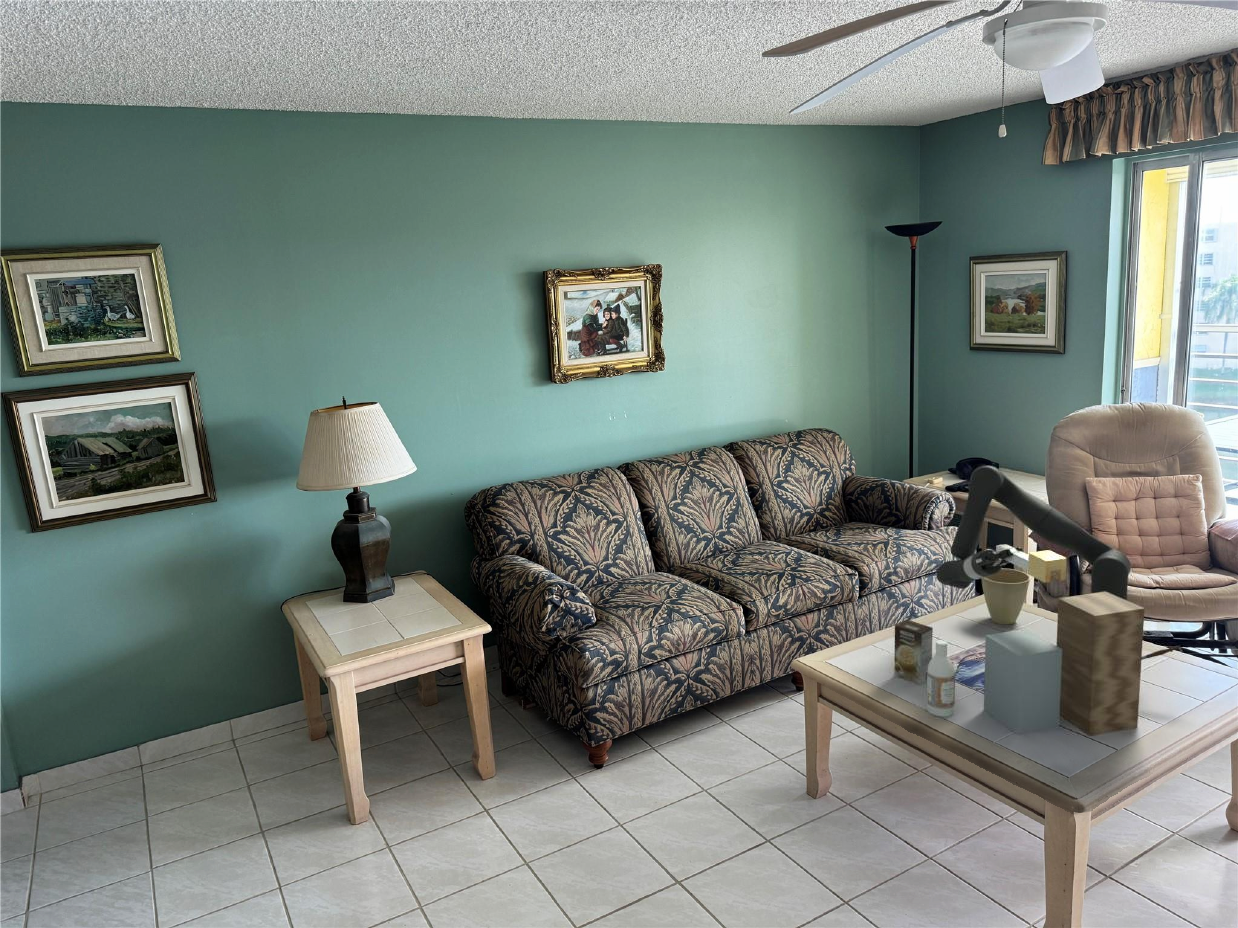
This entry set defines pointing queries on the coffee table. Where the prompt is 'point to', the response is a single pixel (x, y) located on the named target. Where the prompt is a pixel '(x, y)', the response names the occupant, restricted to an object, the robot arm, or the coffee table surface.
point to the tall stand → (1100, 661)
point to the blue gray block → (1022, 681)
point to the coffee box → (912, 651)
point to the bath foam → (941, 683)
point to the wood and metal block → (1038, 563)
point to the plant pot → (1005, 594)
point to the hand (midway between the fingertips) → (1015, 551)
